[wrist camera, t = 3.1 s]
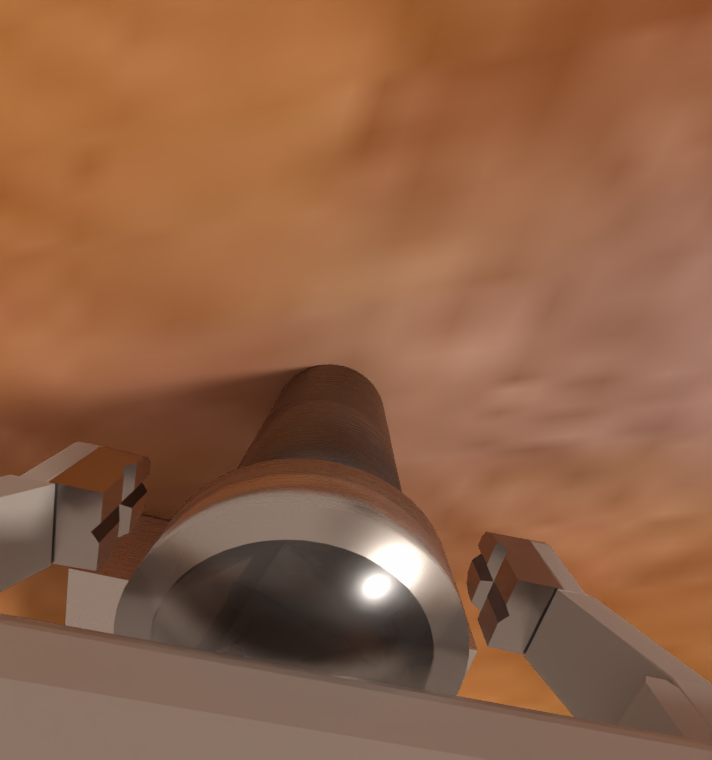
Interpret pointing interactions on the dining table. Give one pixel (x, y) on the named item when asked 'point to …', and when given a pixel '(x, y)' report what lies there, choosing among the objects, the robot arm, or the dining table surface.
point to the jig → (105, 586)
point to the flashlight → (308, 552)
